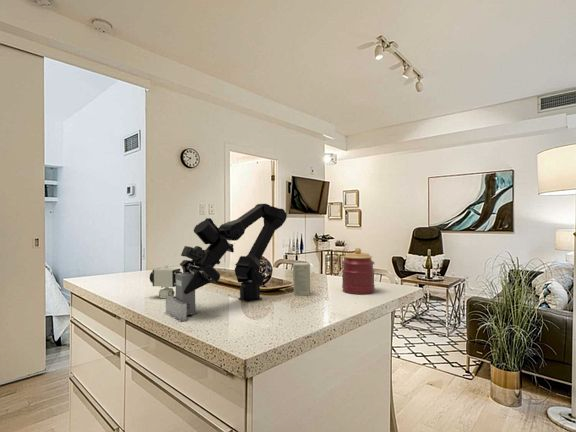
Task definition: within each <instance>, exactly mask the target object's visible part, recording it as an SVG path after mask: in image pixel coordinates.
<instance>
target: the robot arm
mask: <svg viewBox="0 0 576 432" xmlns="http://www.w3.org/2000/svg"><path fill="white" fill-rule="evenodd" d="M287 217H288V215H287V212H286V210H285V209H284V208H279V207H275V206H273V205H270V204H268V203H257V204H255V206H254V207H253V208H251V209H250V210H248V211H246V212H245V213H243V214H242V215H241V216H240V217H238V218H237V219H234V220H229V221H227V222H225V223H222V224H221V225H219V227H217V225H216V224H215V222H214V221H213V219H212V218H210V217H209V218H207V217H206V218H205V220H202V221H200V222H199V223H198V224H196V225H195V226H194V228H193V233H194V234H195V235H196V237H198V238H199V239H200V240H201V242H202V243H203V244H205V245H208V246H207V247H206V248H205V249H203V247H201V246H198V245H196V246H194V247H193V246H188V245H187V246H186V245H185V246H184V247H183V249H182V251H181V253H180V256H181V257H185V258H187V259H183V260H182V261H181V262H180V263H179V266H181V270H182V273H186V272H188V273H192V274H194V277H193V278H192V280H191V281H190V283H189V284H188V286H187V287H186V289H185V290H184V293H185V294H188V293H190V292H192V291H194V290H195V291H196V290H197V289H200V288H201V287H203V286H205V285H208V284H211V282H212V283H216V284H217V282H219V280H220V279H221V275H220V274H221V273H220V272H218V271H217V270H216V268H215V267H216V266H217V265H220V264H221V259H222V257H223V256H225V254H226V253H227V252H230V253H234V252H235V251H234V249H235V248H234V244H233V243H229V241H235V242H236V241H238V240H240V239H241V237H243V236H244V234H245V231H246V229H247V228H249V227H250V226H252V225H253V224H254V223H255V222H257V221H258V220H260V219H261V218H262V219H263V226H262V228H261V229H260V232H259V234H258V236H257V237H256V239H255V241H254V243H253V244H252V246H251V248H250V250H249V252H248V253H247V255H245V256H244V255H240V256H239V258H238V260H237V262H236V263H235V264H234V266H235V268H234V274H235V277H236V280H237V283H240V287H239V297H238V300H240V301H244V302H246V303H251V302H255V301H256V302H257V301H262V300H263V297H261V295H260V294H261V291H260V290H261V286H260V285H261V284H263V283H264V278H265V277H264V276H263V274H262V273H261V272H260V270H261V259H262V257H263V255H264V253H265V251H266V249H267V248H268V245H269V243H270V241H271V240H272V238H273V235H274V234H275V232H276V231H277V230H278V229H279V228H282V226H283V225H284V224H285V222H286V220H287ZM190 259H191V260H190Z"/></svg>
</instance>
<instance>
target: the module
mask: <svg viewBox="0 0 576 432" xmlns="http://www.w3.org/2000/svg"><path fill="white" fill-rule="evenodd" d="M193 277H194V274H192V273H188V272H186V273H183V272H182V273H178V274H176V286H175V297H176V299H178V300H180V301H182V302H184V303H186V304H187V303H189V304H190V309H188V310H187V316H189V315H193V314H196V290H194V291H192V292H190V293H188V294H185V293H184V290H185V289H186V287H187V286H188V284H189V283H190V281H191V280H192V278H193Z"/></svg>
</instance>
